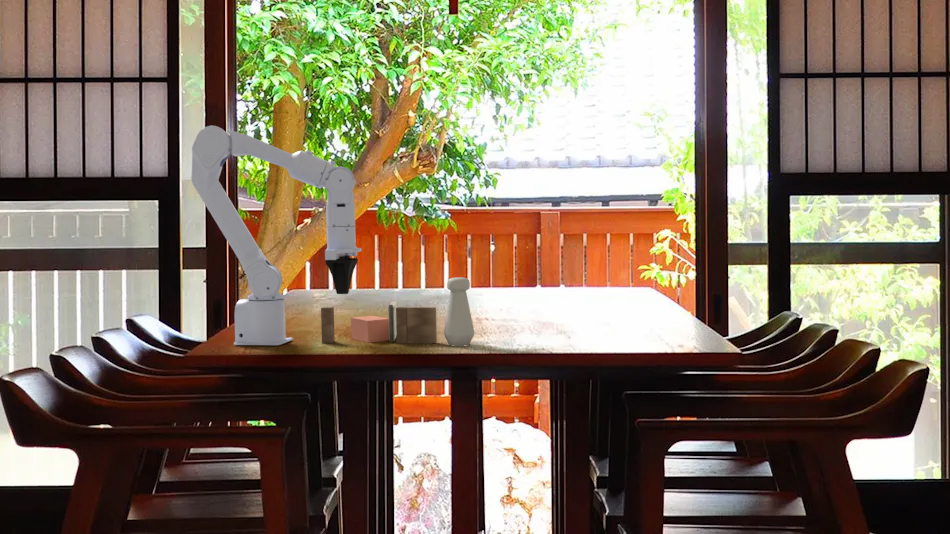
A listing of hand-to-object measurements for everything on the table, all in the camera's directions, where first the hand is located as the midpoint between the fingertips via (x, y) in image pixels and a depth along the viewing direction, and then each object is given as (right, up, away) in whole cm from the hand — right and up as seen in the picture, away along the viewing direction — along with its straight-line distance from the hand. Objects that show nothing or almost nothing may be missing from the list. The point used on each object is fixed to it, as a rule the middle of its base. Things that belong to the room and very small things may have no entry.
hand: (342, 293), depth 189 cm
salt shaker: (+24, -10, -8) cm, 27 cm away
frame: (+8, -10, -4) cm, 13 cm away
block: (+6, -10, +1) cm, 11 cm away
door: (+10, -9, +2) cm, 14 cm away
